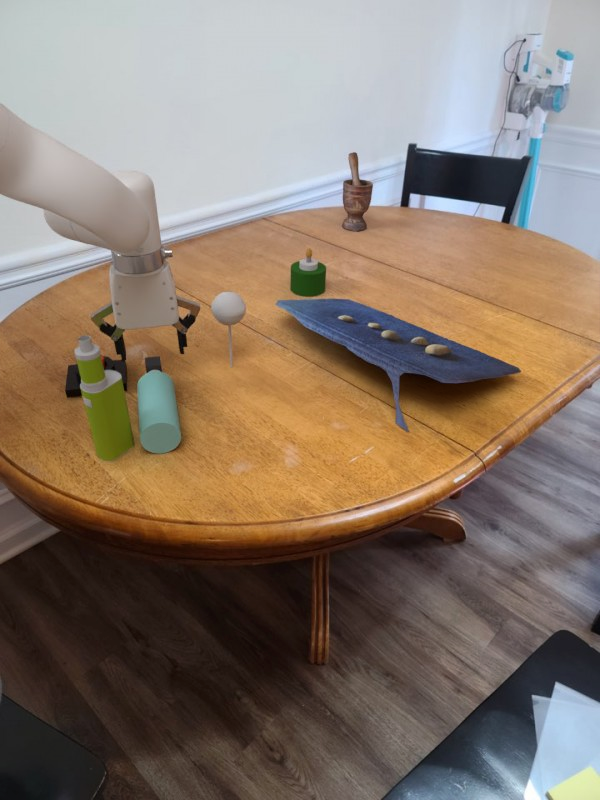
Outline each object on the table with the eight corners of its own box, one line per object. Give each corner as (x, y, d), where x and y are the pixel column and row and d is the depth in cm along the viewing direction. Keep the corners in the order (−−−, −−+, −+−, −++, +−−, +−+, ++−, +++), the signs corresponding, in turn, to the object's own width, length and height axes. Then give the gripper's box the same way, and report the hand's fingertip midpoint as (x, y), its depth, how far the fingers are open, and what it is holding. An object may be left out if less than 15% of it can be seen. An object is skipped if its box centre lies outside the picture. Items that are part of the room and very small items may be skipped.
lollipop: (254, 365, 106) (252, 291, 98) (234, 379, 102) (230, 304, 94) (229, 354, 109) (225, 282, 100) (208, 367, 105) (202, 294, 96)
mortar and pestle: (328, 222, 174) (332, 153, 162) (350, 218, 178) (356, 150, 166) (351, 233, 166) (357, 162, 154) (374, 229, 170) (381, 158, 158)
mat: (254, 346, 116) (263, 292, 112) (343, 339, 135) (354, 292, 131) (430, 444, 88) (451, 376, 84) (512, 417, 107) (533, 361, 102)
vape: (91, 455, 85) (62, 340, 73) (121, 434, 89) (98, 322, 77) (108, 465, 83) (81, 348, 71) (138, 443, 87) (117, 329, 76)
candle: (283, 287, 134) (283, 247, 129) (308, 279, 139) (310, 239, 133) (306, 299, 130) (308, 258, 124) (332, 290, 134) (334, 249, 128)
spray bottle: (142, 456, 85) (138, 383, 101) (183, 450, 86) (173, 379, 102) (137, 425, 81) (133, 354, 97) (179, 419, 83) (169, 350, 98)
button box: (66, 398, 96) (62, 381, 94) (69, 373, 103) (65, 356, 100) (127, 390, 99) (124, 374, 96) (126, 366, 105) (123, 350, 103)
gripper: (192, 245, 91) (201, 337, 101) (80, 253, 87) (100, 348, 97) (197, 263, 85) (206, 359, 95) (77, 273, 81) (100, 371, 92)
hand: (153, 353), depth 96 cm, fingers open, 9 cm apart
